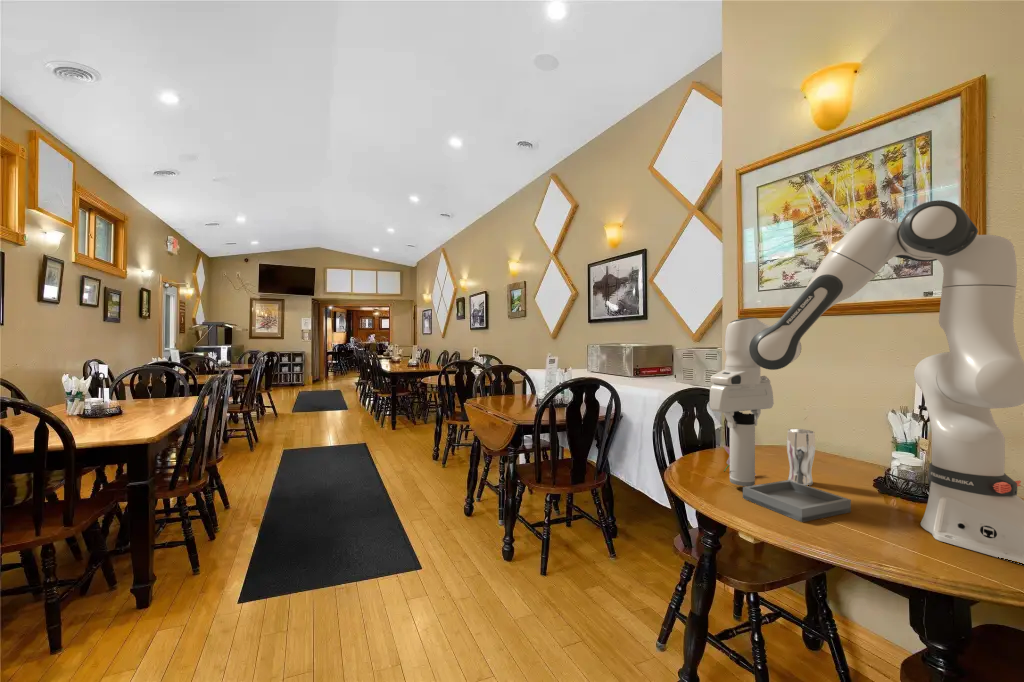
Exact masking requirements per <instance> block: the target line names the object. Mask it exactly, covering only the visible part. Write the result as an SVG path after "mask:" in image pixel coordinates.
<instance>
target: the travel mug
mask: <svg viewBox="0 0 1024 682" xmlns="http://www.w3.org/2000/svg"><path fill="white" fill-rule="evenodd" d="M733 419H734V421H736V422H737V424H736V425H737V427H736V428H729V448H730V466H729V482H730V483H731V484H734V485H736V486H741V487H747V486H753V485H756V477H755V474H756V426H755V421H754V420H755V414H752V413H751V412H750V413H743V411H735V412H734V416H733Z"/></svg>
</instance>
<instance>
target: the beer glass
mask: <svg viewBox="0 0 1024 682" xmlns="http://www.w3.org/2000/svg"><path fill="white" fill-rule="evenodd" d="M786 435H787V436H786V452H787V457H788V462H789V473H788V478H787V480H791V481H794V482H797V483H800V484H803V485H809V486H813V485H814V482H813V476H812V467H813V463H814V459H815V454H816V438H815V431H814V430H811V429H803V428H788V429H787V434H786Z"/></svg>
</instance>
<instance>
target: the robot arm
mask: <svg viewBox="0 0 1024 682" xmlns="http://www.w3.org/2000/svg"><path fill="white" fill-rule="evenodd" d="M978 232H979V229H978V228H977V226H976V225H975V223H974V222H973V221H972V220H971V218H970V217H969V215H968V214H967V213H966V211H965V210H964V209H963V208H962V207H960V205H959V204H956V203H954V202H952V201H948V200H940V199H937V200H930V201H927V202H923V203H921V204H919V205H916V207H914V208H912V209H911V210H910V211H909V212H907V213H906V215H905V216H903V218H902V219H901V221H899V222H893V221H892V222H890V221H889V220H886V219H882V218H878V217H877V218H876V217H871V218H865V219H863V220H861V221H860V222H858V223H857V224H856V225H855V226H853V228H851V229H850V230H849V231H847V232H846V234H844V236H843V237H842V238H840V239H839V240H838V242H837V243H836V244H835V245H834V246H833V247H832V248H831V250H830V251H828V253H827V254H826V256H825V257H824V258H823V260H822V261H821V263H820V264H819V265H818V267H816V268H817V269H816V270H815V272H814V273H813V275H812V277H811V279H810V280H809V282H808V284H807V285H806V288H805V289H804V291H803V292H802V293H801V294H800V296H799V297H798V298H797V299H796V301H795V302H793V303H792V305H791V306H789V309H787V311H786V312H784V314H783V315H782V316H780V319H778V320H777V321H776V322H775V323H774V324H773V325H769V324H767V323H764V322H763V321H761V320H759V319H758V318H757V317H745V318H744V317H743V318H739V319H734V320H732V321H730V322H729V323H728V324H727V326H726V328H725V338H724V352H725V357H726V359H725V361H724V369H722V370H720V371H719V372H715V374H713V375H711V376H710V377H709V378H710V383H711V384H712V385H711V386H710V389H709V407H710V410H711V411H712V412H716V413H721V414H722V413H723V416H724V418H725V419H726V421H727V428H729V429H730V428H736V427H737V425H736V424H737V422H736V421H734V419H733V416H734V412H743V411H744V412H745V411H750V413H751V414H755V420H754V421H755V427H756V426H758V419H759V417H760V415H761V410H768V409H773V406H774V404H775V403H774V392H773V388H772V384H771V380H770V379H769V377H767V375H761V368H763V369H766V370H768V371H769V370H771V371H773V370H775V371H776V370H781V369H784V368H785V367H787V366H788V365H790V364H791V363H793V362H795V361H796V360H797V359H798V358H799V357H800V355H801V352H802V344H801V339H802V337H803V336H804V335H805V334H806V333H807V332H808V331H809V329H811V328H812V327H813V325H814V324H815V323H816V321H817V320H819V318H820V317H821V316H822V315H823V314H824V313H825V312H826V311H827V310H829V309H830V308H831V307H833V306H835V305H837V304H838V303H841V302H842V301H844V300H846V299H849V298H851V297H853V296H854V295H855V294H856V293H858V292H860V291H861V290H862V289H863V288H864V287H866V285H867V284H869V282H871V280H872V279H873V278H874V277H875V275H877V274H878V272H879V271H880V270H881V269H882V268H883V267H884V266H885V264H886V263H888V262H889V261H890V260H891V259H893V258H898V259H905V260H909V261H910V260H911V261H913V262H914V261H915V262H921V263H923V262H924V263H925V262H926V263H927V262H929V263H930V262H935V261H938V262H939V263H940V264H941V266H942V272H943V277H942V278H943V279H942V285H941V296H940V302H939V303H940V305H939V313H938V323H939V327H940V328H941V329H942V330H943V332H944V334H945V336H946V340H947V343H948V349H949V351H946V352H939V353H935V354H932V355H930V356H929V355H928V356H927V357H925V358H923V359H921V360H920V361H919V362H918V363H917V364H916V366H915V368H914V372H913V376H914V381H915V383H916V385H917V386H918V387H919V389H920V390H921V392H922V395H923V398H924V402H925V406H926V410H927V413H928V414H927V415H928V418H929V423H930V428H931V462H930V463H928V473H927V474H928V477H927V478H928V482H927V483H928V487H929V493H928V500H927V503H926V508H925V512H924V514H923V516H922V519H921V522H920V524H919V525H920V526H921V527H922V528H923V529H924V530H925V531H927V532H929V534H931V535H932V536H933V538H934V539H935V540H936V541H938V542H944V543H947V544H950V545H954V546H956V547H960V548H964V549H967V550H971V551H974V552H977V553H981V554H984V555H988V556H990V557H991V556H992V557H993V558H998V557H999V558H998V559H1001V558H1004V559H1003V560H1005V559H1008V560H1012V561H1017V562H1020V563H1023V564H1024V499H1022V498H1021V497H1020V496H1019V495H1018V487H1021V486H1022V485H1021V482H1022V480H1013V479H1012V478H1011V477H1010V476H1008V475H1007V473H1006V472H1005V463H1006V461H1005V460H1006V459H1005V458H1006V449H1005V448H1006V438H1005V435H1004V433H1003V431H1002V430H1001V429H1000V428H999V427H998V425H997V424H996V422H995V421H996V420H995V419H994V417H993V414H992V411H991V409H1005V408H1007V409H1008V408H1014V407H1019V406H1021V405H1024V359H1023V357H1022V355H1021V353H1020V350H1019V347H1018V342H1017V337H1016V335H1015V328H1014V319H1015V318H1014V317H1015V316H1014V315H1015V302H1016V293H1017V291H1016V290H1017V282H1018V281H1017V280H1018V279H1017V278H1018V265H1017V258H1016V257H1017V256H1016V252H1015V247H1014V244H1013V243H1012V242H1011V240H1010V239H1008V238H1007V237H1006V238H1005V237H1004V236H1001V235H995V234H978ZM1008 560H1007V561H1008ZM1012 561H1011V562H1012Z"/></svg>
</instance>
